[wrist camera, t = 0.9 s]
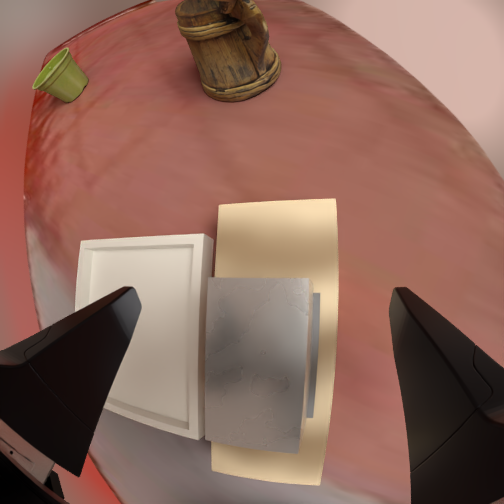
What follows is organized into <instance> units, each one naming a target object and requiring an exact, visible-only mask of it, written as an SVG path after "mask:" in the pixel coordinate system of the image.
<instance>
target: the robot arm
mask: <svg viewBox="0 0 504 504" xmlns="http://www.w3.org/2000/svg"><path fill="white" fill-rule="evenodd" d="M141 309H142V305H141V302H140V299H139V297H138V294H137V292H136V289H135V288H134V287H132V286H123V287H121V288H119V289H118V290H116V291H114V292H112V293H110V294H108V295H106V296H104V297H102V298H100V299H99V300H97V301H95V302H93V303H91V304H89V305H87V306H86V307H84V308H82V309H80V310H78V311H76V312H74V313H73V314H71V315H69V316H67V317H65V318H64V319H62V320H60V321H58V322H56V323H54V324H53V325H52V326H49V327H47V328H45V329H44V330H42V331H40V332H38V333H36V334H34V335H33V336H30V337H29V338H27V339H25V340H23V341H21V342H18V343H16V344H14V345H12V346H11V347H9V348H6V349H4V350H1V351H0V504H69V503H68V502H66V501H65V500H64V495H63V492H62V488H61V485H60V481H59V477H58V474H57V473H56V472H54V471H53V470H52V469H53V467H54V465H55V463H56V464H58V465H59V466H61V467H63V468H64V469H66V470H67V471H69V472H71V473H72V474H74V475H75V476H77V477H80V474H81V472H82V468H83V465H84V462H85V459H86V456H87V453H88V450H89V447H90V444H91V441H92V438H93V435H94V433H93V432H95V429H96V426H97V423H98V421H99V418H100V415H101V412H102V410H103V407H104V405H105V402H106V399H107V397H108V394H109V392H110V389H111V387H112V384H113V382H114V379H115V377H116V375H117V372H118V370H119V367H120V365H121V363H122V360H123V358H124V356H125V353H126V351H127V349H128V347H129V344H130V342H131V339H132V336H133V333H134V330H135V327H136V324H137V321H138V318H139V315H140V313H141ZM389 318H390V326H391V334H392V343H393V352H394V359H395V364H396V369H397V374H398V379H399V384H400V390H401V396H402V402H403V408H404V415H405V422H406V430H407V439H408V449H409V461H410V472H411V473H410V479H411V504H504V368H503V367H502V366H500V365H499V364H498V363H497V362H495V361H494V360H493V359H492V358H491V357H490V356H489V355H487V354H486V353H485V352H484V351H483V350H482V349H481V348H479V347H478V346H477V345H476V346H475V343H474V342H473V341H471V340H470V339H469V338H468V337H467V336H466V335H464V334H463V333H462V332H461V331H460V330H459V329H457V328H456V327H455V326H454V325H453V324H452V323H450V322H449V321H448V320H447V319H446V318H444V317H443V316H442V315H441V314H440V313H438V312H437V311H436V310H435V309H433V308H432V307H431V306H430V305H428V304H427V303H426V302H425V301H423V300H422V299H421V298H420V297H418V296H417V295H416V294H414V293H413V292H412V291H411V290H409V289H408V288H407V287H395V288H394V289H393V292H392V297H391V302H390V307H389Z"/></svg>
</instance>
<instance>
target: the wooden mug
mask: <svg viewBox="0 0 504 504" xmlns="http://www.w3.org/2000/svg"><path fill="white" fill-rule="evenodd" d="M175 14H176V16H177V19H178V22H177V24H178V27H179V30H180V33H181V35H182V36H183V37H185V38H186V40H187V42H188V45H189V47H190V50H191V52H192V55H193V57H194V60H195V62H196V65H197V68H198V70H199V73H200V75H201V82H202V85H203V88H204V91H205V92H206V94H207V95H208V96H210V97H212V98H213V99H215V100H220V101H228V102H235V101H241V100H245V99H248V98H250V97H253V96H255V95H257V94H259V93H261V92H262V91H264V90H265V89H267V88H268V87H269V86H270V85H272V84H273V83H274V82H275V81H276V79H277V78H278V76H279V74H280V71H281V61H280V58H279V56H278V54H277V53H276V51H275V50H274V49H273V48H271V46H270V44H269V42H268V41H269V32H268V26H267V24H266V21H265V19H264V16H263V14H262V13H261V11H260V10H259V8H258V7H257V5H256V4H255V3H254V1H253V0H184V1H182V2H181V3H180V4H179V5H178V6H177V7H176V10H175Z"/></svg>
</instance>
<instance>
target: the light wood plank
mask: <svg viewBox="0 0 504 504" xmlns="http://www.w3.org/2000/svg"><path fill="white" fill-rule="evenodd" d="M215 277H219V278H309V279H310V280H311V281H312V283H313V284H314V296H313V330H312V351H311V368H310V383H309V396H308V407H307V418H306V426H305V430H304V434H303V438H302V442H301V445H300V449H299V453H298V454H293V453H281V452H272V451H264V450H256V449H250V448H243V447H238V446H232V445H227V444H222V443H217V442H212V441H211V457H212V471H216V472H220V473H225V474H229V475H234V476H239V477H245V478H251V479H257V480H264V481H271V482H280V483H290V484H303V485H320V481H321V475H322V470H323V464H324V458H325V452H326V445H327V439H328V431H329V424H330V416H331V407H332V397H333V387H334V376H335V362H336V346H337V325H338V234H337V212H336V199H310V200H287V201H268V202H252V203H237V204H224V205H219V214H218V228H217V244H216V261H215Z"/></svg>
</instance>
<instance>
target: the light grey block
mask: <svg viewBox="0 0 504 504" xmlns="http://www.w3.org/2000/svg"><path fill="white" fill-rule="evenodd" d="M313 296H314V284H313V283H312V281H311V280H310V279H309V278H219V277H208V290H207V313H206V344H205V440H208V441H212V442H217V443H222V444H227V445H232V446H238V447H243V448H250V449H256V450H264V451H272V452H281V453H293V454H298V453H299V449H300V445H301V442H302V438H303V434H304V430H305V426H306V418H307V407H308V396H309V383H310V368H311V351H312V330H313Z"/></svg>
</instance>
